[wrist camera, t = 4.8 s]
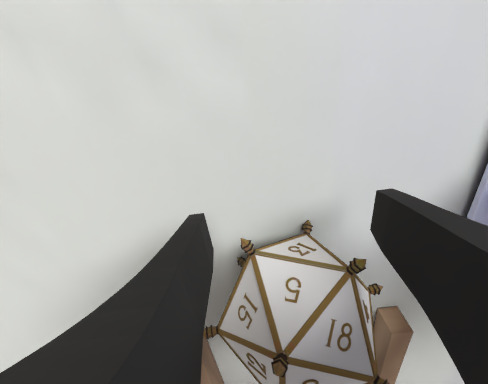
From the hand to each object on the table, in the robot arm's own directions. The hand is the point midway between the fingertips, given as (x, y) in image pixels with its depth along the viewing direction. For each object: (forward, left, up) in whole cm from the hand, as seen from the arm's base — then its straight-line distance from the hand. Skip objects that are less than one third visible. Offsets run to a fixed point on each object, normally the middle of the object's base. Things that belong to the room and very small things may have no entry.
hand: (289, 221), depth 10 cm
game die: (0, +5, -4) cm, 6 cm away
